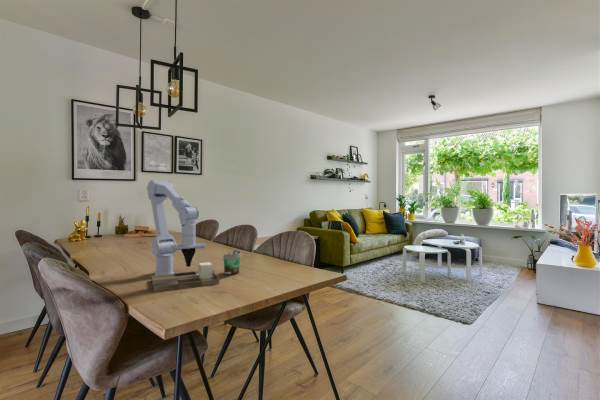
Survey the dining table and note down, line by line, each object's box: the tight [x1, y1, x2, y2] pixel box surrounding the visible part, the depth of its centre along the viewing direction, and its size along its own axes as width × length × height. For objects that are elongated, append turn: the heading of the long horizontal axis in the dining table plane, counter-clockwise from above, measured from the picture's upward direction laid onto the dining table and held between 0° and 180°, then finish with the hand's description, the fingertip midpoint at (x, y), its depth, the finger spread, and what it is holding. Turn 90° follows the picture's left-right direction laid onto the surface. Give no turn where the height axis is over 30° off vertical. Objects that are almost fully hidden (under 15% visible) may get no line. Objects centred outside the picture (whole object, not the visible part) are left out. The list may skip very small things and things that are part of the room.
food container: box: [222, 249, 243, 276], centre depth 150 cm, size 12×6×10 cm, turn 168°
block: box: [198, 261, 213, 277], centre depth 139 cm, size 5×5×5 cm
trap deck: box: [150, 268, 220, 293], centre depth 135 cm, size 18×25×4 cm
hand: (188, 266), depth 136 cm, fingers closed
